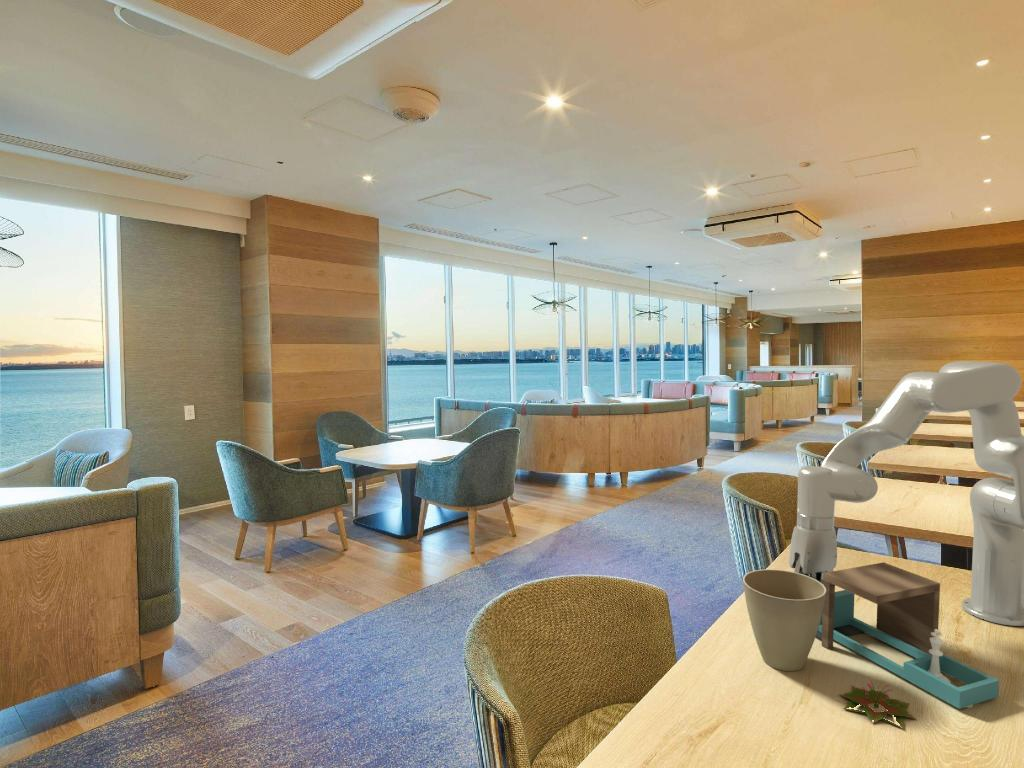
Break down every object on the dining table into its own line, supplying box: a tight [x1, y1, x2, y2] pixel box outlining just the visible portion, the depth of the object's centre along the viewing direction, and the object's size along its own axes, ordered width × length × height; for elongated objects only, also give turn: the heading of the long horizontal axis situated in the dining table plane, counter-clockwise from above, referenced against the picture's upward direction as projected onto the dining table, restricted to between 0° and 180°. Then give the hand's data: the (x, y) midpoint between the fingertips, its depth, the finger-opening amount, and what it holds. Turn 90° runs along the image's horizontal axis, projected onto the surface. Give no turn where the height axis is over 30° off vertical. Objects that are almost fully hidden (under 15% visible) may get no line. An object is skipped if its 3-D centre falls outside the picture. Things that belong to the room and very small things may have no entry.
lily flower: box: [838, 680, 917, 731], centre depth 102 cm, size 12×12×5 cm
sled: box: [818, 589, 1000, 710], centre depth 116 cm, size 10×31×7 cm, turn 20°
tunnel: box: [815, 562, 941, 655], centre depth 125 cm, size 17×23×16 cm
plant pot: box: [742, 568, 826, 672], centre depth 116 cm, size 15×15×16 cm
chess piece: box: [927, 628, 952, 684], centre depth 109 cm, size 5×5×10 cm
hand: (813, 599), depth 135 cm, fingers closed
